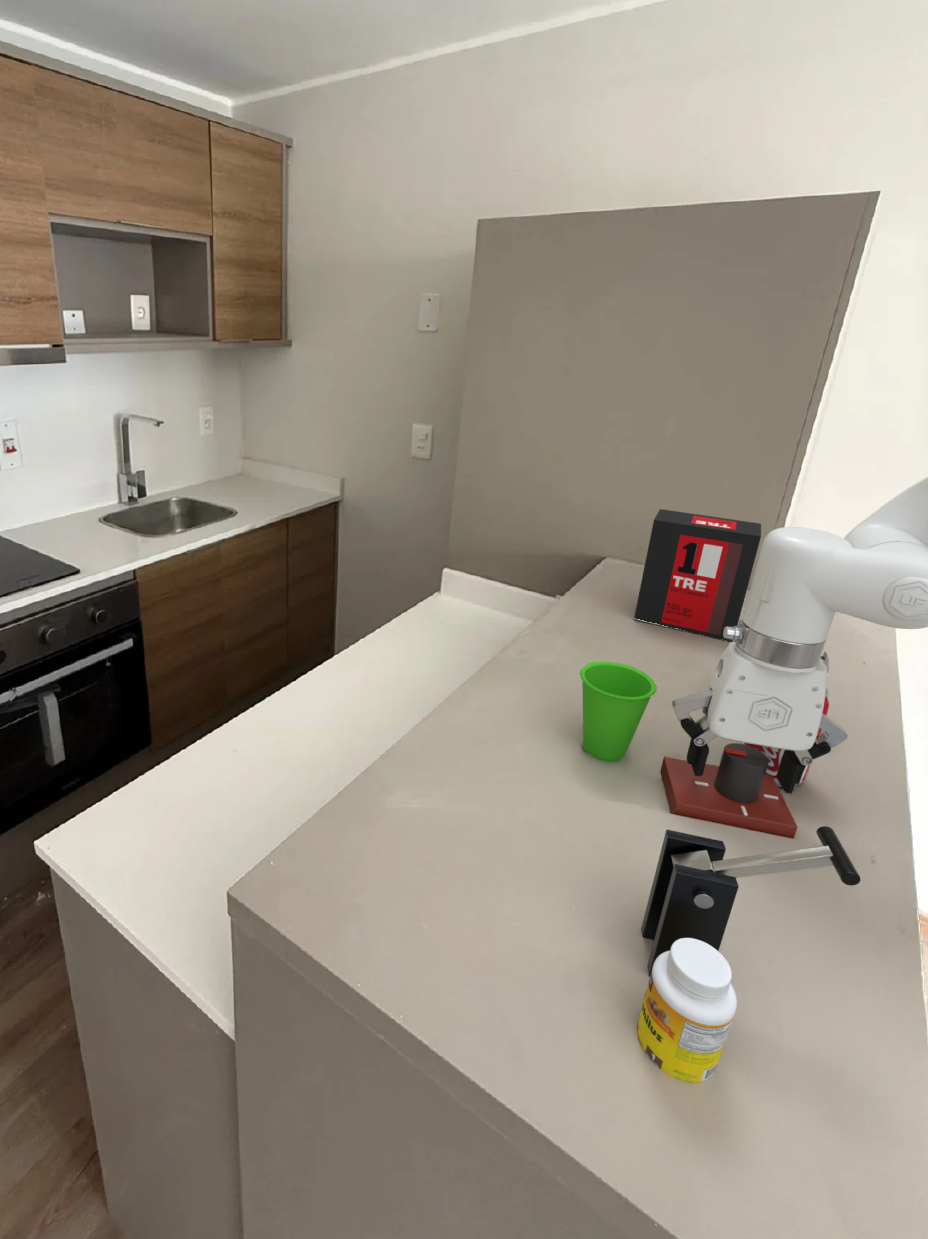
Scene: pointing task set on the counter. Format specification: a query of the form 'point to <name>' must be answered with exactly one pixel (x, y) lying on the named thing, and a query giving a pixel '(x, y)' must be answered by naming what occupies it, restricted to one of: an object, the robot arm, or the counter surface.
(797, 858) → the lever
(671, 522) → the cleaning product box
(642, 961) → the counter surface
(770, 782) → the dial panel
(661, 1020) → the supplement bottle
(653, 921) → the lever base
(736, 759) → the dial
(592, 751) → the cup
